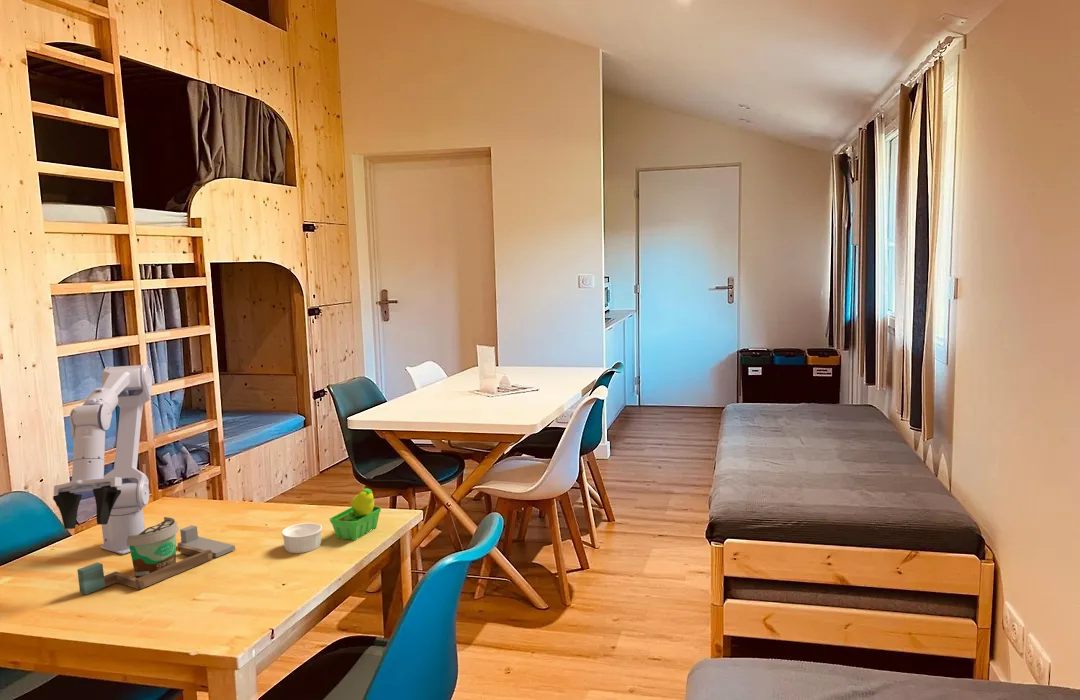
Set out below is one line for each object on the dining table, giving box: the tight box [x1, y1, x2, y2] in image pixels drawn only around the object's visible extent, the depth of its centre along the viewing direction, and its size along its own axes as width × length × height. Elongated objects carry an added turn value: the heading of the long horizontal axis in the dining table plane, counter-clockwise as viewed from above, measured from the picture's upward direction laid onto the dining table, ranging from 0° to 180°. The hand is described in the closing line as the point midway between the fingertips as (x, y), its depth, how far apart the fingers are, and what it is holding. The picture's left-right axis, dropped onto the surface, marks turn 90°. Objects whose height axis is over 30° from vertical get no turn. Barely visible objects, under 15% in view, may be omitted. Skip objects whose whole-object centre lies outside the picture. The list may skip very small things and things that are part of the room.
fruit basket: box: [329, 488, 382, 541], centre depth 181 cm, size 11×9×11 cm
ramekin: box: [281, 522, 323, 554], centre depth 174 cm, size 9×9×4 cm
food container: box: [127, 516, 180, 578], centre depth 163 cm, size 12×6×10 cm, turn 168°
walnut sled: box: [77, 545, 213, 596], centre depth 161 cm, size 10×24×5 cm, turn 150°
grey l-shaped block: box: [177, 525, 236, 558], centre depth 175 cm, size 14×5×4 cm, turn 60°
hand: (86, 526), depth 155 cm, fingers open, 7 cm apart
